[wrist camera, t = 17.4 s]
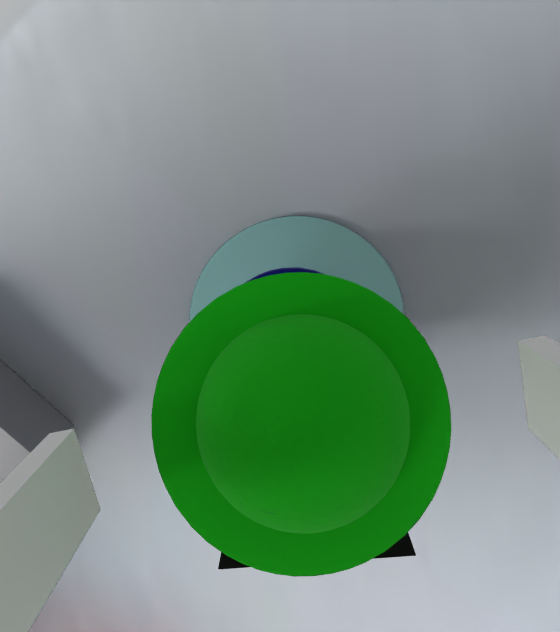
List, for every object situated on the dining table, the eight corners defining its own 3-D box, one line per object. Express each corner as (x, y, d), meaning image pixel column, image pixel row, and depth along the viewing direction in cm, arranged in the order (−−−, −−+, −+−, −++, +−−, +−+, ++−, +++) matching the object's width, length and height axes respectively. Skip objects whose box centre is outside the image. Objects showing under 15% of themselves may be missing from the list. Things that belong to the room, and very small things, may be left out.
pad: (218, 438, 29) (217, 442, 29) (167, 241, 27) (165, 242, 26) (417, 400, 28) (419, 403, 28) (383, 194, 26) (384, 194, 25)
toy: (219, 412, 28) (143, 648, 14) (198, 250, 26) (83, 321, 12) (386, 398, 28) (494, 625, 13) (377, 233, 26) (493, 285, 11)
